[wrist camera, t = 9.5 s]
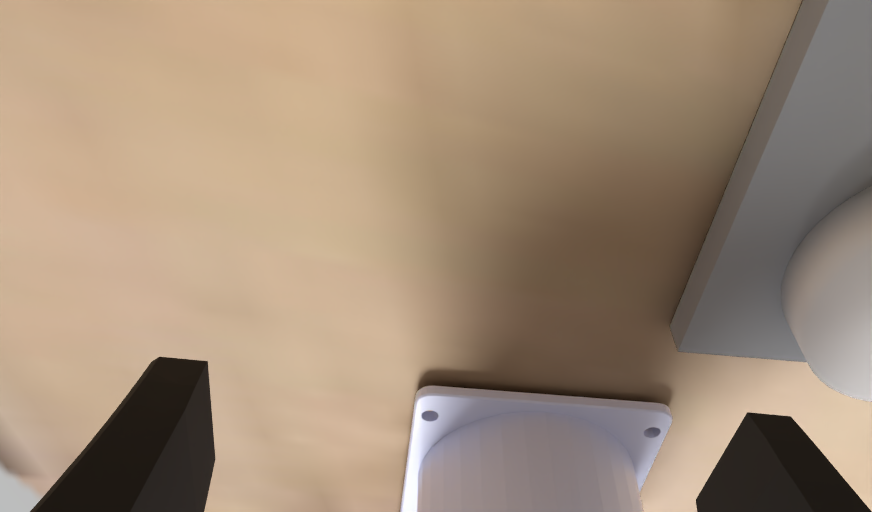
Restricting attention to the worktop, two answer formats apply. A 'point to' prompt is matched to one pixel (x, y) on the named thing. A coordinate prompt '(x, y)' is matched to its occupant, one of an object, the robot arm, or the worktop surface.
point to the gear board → (797, 214)
